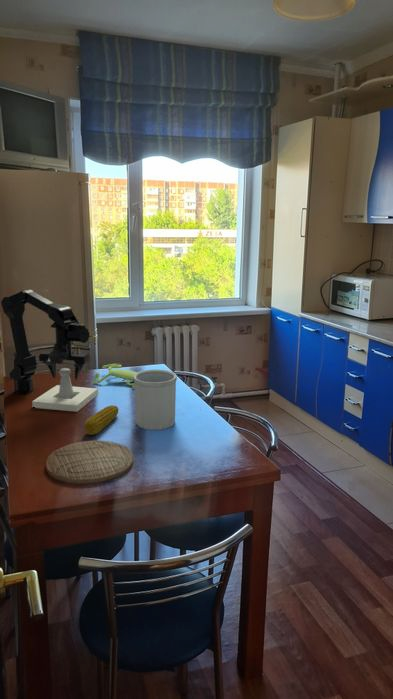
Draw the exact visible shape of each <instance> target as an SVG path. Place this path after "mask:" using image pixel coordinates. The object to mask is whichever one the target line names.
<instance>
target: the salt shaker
mask: <svg viewBox="0 0 393 699" xmlns="http://www.w3.org/2000/svg"><path fill="white" fill-rule="evenodd" d="M71 370H72V369H70V368H67V367H63V368H61V369H59V372H58V374H59V376H60V382H59V385H60V389H59V398H66V399H72V398H73V396H74V392H73V388H72V386H73V384H72V381H71V377H70V376H71V373H72V372H71Z"/></svg>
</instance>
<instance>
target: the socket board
mask: <svg viewBox="0 0 393 699" xmlns="http://www.w3.org/2000/svg"><path fill="white" fill-rule="evenodd" d="M72 388H73V392H74V396H73V398H72V399H66V398H59V389H60V384H57V385H55V386H54V387H52V388H49V390H47V391H46V392H44V393H43V394H41V395H40V396H38V397H37V398H35V399H34V400H32V402H31V403H32V408H33V407H35V409H44V410H52V411H53V410H56V411H62V412H63V411H65V412H66V411H67V412H73V413H74V412H77V413H78V412H79V411H80V410H81V409H82V408H84V407H85V406H86V405H87V404H88V403H90V402H91V401H92V400H94V398H96V397H97V396H98V395H99V388H95V387H94V388H93V387H85V386H84V387H83V386H82V387H81V386H74V385H72Z"/></svg>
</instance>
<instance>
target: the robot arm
mask: <svg viewBox="0 0 393 699" xmlns="http://www.w3.org/2000/svg"><path fill="white" fill-rule="evenodd" d="M0 302H1V307H2V312H3V313H4V315H6V317H7V318H8V319H9V324H10V329H11V334H12V340H13V344H14V348H15V356H14V359H13V367H14V368H13V369H12V370H11V371H10V372H9V373H8V374H9V378H10V380H13V386H14V390H13V391H12V394H21V393H22V394H24V395H28V394H29V393H31V392H32V391H34V390H35V387H34V385H33V384H34V382H33V380H32V378H33V377H32V376H34V375H35V373H36V370H37V368H38V367H37V365H38V363H37V356H36V355H33V354H31V352H30V350H29V345H28V340H27V335H26V333H27V332H26V328H25V324H24V318H23V316H24V313H25V311H26V307H25V306H26V304H29V305H32V306H33V307H35V308H37V309H39V310H40V311H42V312H44V313H45V314H46V315H47V316H48V318H49V319H50V320H51V321H52V322H53V323H52V324H50V328H52V329H54V330H55V331H54V332H55V333H54V334H55V343H54V344H53V345H54V346H53V347H54V348H53V349H52V350H44V351H42V352H41V353H40V354H39V355H38V361H39V362H42V364H45V365H46V366H47V367H48V369H49V371H50V373H51V376H52V378H53V379H56V377H57V364H58V365H59V364H63V363H64V361H73V362H74V363H73V366H74V374H75V375H74V379H75V381H77V380H79V377H80V374H81V371H82V370H83V367H84V366H85V364H87V363H89V362H90V361H91V356H90V355H89V353H78V354H76V355H74V351H73V349H72V345H73V344H74V343H79V344H80V343H81V344H85V343H87V342H88V340H90V332H89V329H88V328H86V324H80V322H79V320H78V318H77V317H76V315H75V314H74V312H73V308H72V307H70V306H68V305H66V304H60V303H55V302H53V301H51V300H49V299H47V298H46V297H43V295H40V294H39V293H37V292H34V290H33V289H29V288H28V289H24V290H20V291H19V292H16V293H14V294H12V295H8V296H4V297H2V300H1V301H0ZM27 393H28V394H27Z"/></svg>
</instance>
